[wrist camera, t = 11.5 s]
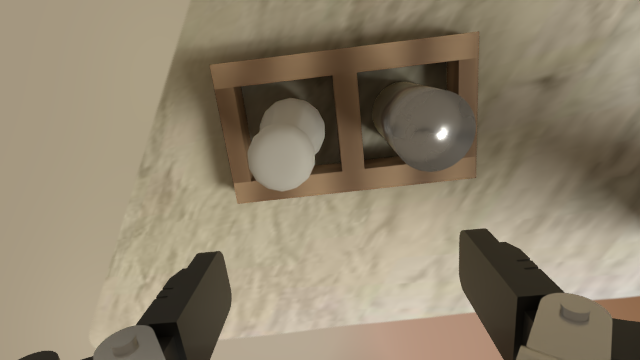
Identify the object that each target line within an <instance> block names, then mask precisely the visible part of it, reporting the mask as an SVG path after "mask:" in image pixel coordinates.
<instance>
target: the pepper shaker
mask: <svg viewBox="0 0 640 360" xmlns="http://www.w3.org/2000/svg"><path fill="white" fill-rule="evenodd" d="M372 118H373V123H374V125H375V127H376V129H377V131H378V132H379V133H380V134H381V135H382V137H383V138H384V139H385V140H386V141H387V142H388V144H389V145H390V146H391V147H392V148H393V150H394V151H395V152H396V153H397V154H398V155H399V157H400V158H401V159H402V160H403V161H404V162H405V163H406V164H407V165H409V166H410V167H412V168H414V169H417V170H420V171H426V172H435V171H440V170H444V169H447V168H449V167H451V166H453V165H454V164H456V163H457V162H459V161H460V160H461V159H462V158H463V157H464V156H465V155H466V153H467V152H468V151H469V149H470V147H471V145H472V143H473V140H474V137H475V132H476V121H475V116H474V113H473V111H472V109H471V107H470V105H469V104H468V103H467V102H466V101H465V100H464V99H463V98H462V97H461V96H459V95H457V94H456V93H453V92H451V91H447V90H442V89H438V88H433V87H429V86H424V85H420V84H416V83H411V82H397V83H394V84H391V85H389V86H387V87H386V88H385V89H383V90H382V91H381V92H380V93H379V95H378V96H377V98H376V100H375V102H374V105H373V109H372Z"/></svg>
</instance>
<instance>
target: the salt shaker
mask: <svg viewBox="0 0 640 360" xmlns="http://www.w3.org/2000/svg"><path fill="white" fill-rule="evenodd" d="M324 138H325V123H324V121H323V119H322V117H321V115H320V114H319V112H318V110H317V109H316V108H314V107H313V106H312V105H311V104H309V103H308V102H307V101H305V100H299V99H294V98H288V99H284V100H280V101H277V102H275V103H274V104H273V105H272V106H271V107H270V108H268V109H267V110H266V111H265V113H264V116H263V118H262V121H261V123H260V132H259V133H258V134H257V135H256V136H254V137H253V139H252V142H251V144H250V147H249V149H248V164H249V169H250V171H251V173H252V174H253V176H254V178H255V179H256V181H257V182H259V183H260V184H262V185H263V186H265V187H266V188H268V189H272V190H277V191H282V192H283V191H287V190H291V189H294V188H297V187H298V186H300V185H301V184H302V183H303V182H305V181H306V180H307V179H308V178H309V176H310V174H311V172H312V169H313V167H314V165H315V154H316V153H317V152H318V151H319V150H320V148H321V145H322V143H323V141H324Z"/></svg>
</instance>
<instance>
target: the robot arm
mask: <svg viewBox="0 0 640 360" xmlns="http://www.w3.org/2000/svg"><path fill="white" fill-rule="evenodd" d="M459 277H460V282H461V286H462V289H463V291H464V293H465V295H466V296H467V298H468V300H469V301H470V303H471V305H472V307H473V308H474V310H475V312H476V313H477V315H478V317H479V318H480V320H481V322H482V323H483V325H484V327H485V329H486V330H487V332H488V334H489V335H490V337H491V339H492V340H493V342H494V344H495V346H496V347H497V349H498V351H499V352H500V354H501V356H502V358H503V359H504V360H640V322H635V321H627V320H619V319H613V318H612V317H611V315H610V314H609V312H608V311H607V310H606V309H605V308H603V307H602V306H601V305H599V304H598V303H596V302H594V301H592V300H590V299H588V298H585V297H582V296H579V295H575V294H569V293H564V292H563V291H562V290H561V289H560V288H559V287H558V286H557V285H556V284H555V283H554V282H553V281H552V280H551V279H550V278H549V277H548V276H547V275H546V274H545V273H544V272H543V271H542V270H541V269H538V266H537V265H536V264H535V263H534V262H533V261H530V258H529V257H528V256H527V255H526V254H525V253H524V252H523V251H521V250H520V249H519V248H517V247H515V246H513V245H511V244H509V243H507V242H499V241H498V240H497V239H496V238H495V237H494V236H493V235H492V234H491V233H490V232H489V231H488V230H487V229H485V228H484V229H473V230H462V231H461V233H460V241H459ZM230 307H231V288H230V284H229V279H228V275H227V270H226V265H225V261H224V257H223V254H222V253H221V252H220V251H216V252H205V253H198V254H197V255H196V256H195V257H194V259H193V260H192V262H191V263H190V265H189V266H188V268H186V269H182V270H180V271H179V272H178V273H176V274H175V275H174V276H172V277H171V278H170V279H169V280H168V282H167V283H166V285H165V286H164V287H163V290H161V291H160V293H159V294H158V295H157V297H156V299H155V300H154V301H153V302H152V304H151V305H150V306H149V308H148V309H147V310H146V312H145V313H144V315H143V316H142V317H141V319H140V320H139V321H138V323H137V324H136V325H135V326H131V327H127V328H125V329H122V330H120V331H118V332H116V333H114V334H112V335H111V336H109V337H108V338H106V339H105V340H104V341H103V342H102V343H101V344H100V345H99V346H98V347H97V349H96V350H95V352H94V355H93V356H92V357H89V358H86V359H82V360H210V358H211V355H212V353H213V350H214V348H215V345H216V343H217V340H218V338H219V335H220V333H221V330H222V328H223V325H224V323H225V320H226V318H227V315H228V313H229V310H230ZM19 360H60V359H59V356H58V354H57V353H56V352H53V351H41V352H37V353H33V354H30V355H28V356H25V357H23V358H21V359H19Z"/></svg>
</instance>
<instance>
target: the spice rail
mask: <svg viewBox="0 0 640 360" xmlns="http://www.w3.org/2000/svg"><path fill="white" fill-rule="evenodd" d="M439 62H447V91H451V92H453V93H456V94H457V95H459V96H461V97H462V98H463V99H464V100H465V101H466V102H467V103H468V104H469V105H470V107H471V109H472V111H473V113H474V116H475V121H476V132H475V137H474V140H473V143H472V145H471V147H470V149H469V151H468V152H467V153H466V155H465V156H464V157H463V158H462V159H461V160H460V161H459V162H457V163H456V164H454V165H453V166H451V167H449V168H447V169H444V170H440V171H435V172H426V171H420V170H417V169H414V168H412V167H410V166H409V165H407V164H406V163H405V162H404V161H403V160H402V159H401V158H400V157H399V156H395V157H386V158H377V159H368V160H364V155H363V143H362V131H361V118H360V106H359V93H358V81H357V72H364V71H372V70H381V69H389V68H397V67H406V66H414V65H422V64H430V63H439ZM478 62H479V32H471V33H463V34H455V35H447V36H438V37H430V38H422V39H414V40H406V41H398V42H390V43H382V44H374V45H365V46H357V47H349V48H341V49H333V50H325V51H317V52H309V53H301V54H293V55H284V56H276V57H268V58H260V59H252V60H244V61H236V62H228V63H220V64H212V65H210V70H211V75H212V80H213V85H214V90H215V95H216V100H217V104H218V109H219V114H220V119H221V124H222V129H223V134H224V139H225V144H226V149H227V154H228V159H229V164H230V169H231V173H232V178H233V183H234V188H235V193H236V198H237V203H238V204H240V203H249V202H258V201H267V200H277V199H286V198H295V197H304V196H313V195H322V194H331V193H341V192H350V191H359V190H368V189H377V188H386V187H396V186H405V185H414V184H423V183H432V182H441V181H451V180H460V179H469V178H476V154H477V108H478ZM331 75H332V82H333V92H334V102H335V112H336V122H337V131H338V141H339V151H340V161H341V163H332V164H323V165H314V167H313V169H312V172H311V174H310V176H309V178H308V179H307V180H306V181H305V182H303V183H302V184H301V185H300V186H298V187H297V188H294V189H291V190H287V191H283V192H282V191H277V190H272V189H268V188H266V187H265V186H263V185H262V184H260V183H259V182H257V181H256V179H255V178H254V176H253V174H252V173H251V171H250V169H249V164H248V149H249V147H250V144H251V139H250V134H249V128H248V123H247V117H246V112H245V106H244V101H243V95H242V89H241V86H248V85H257V84H265V83H273V82H281V81H290V80H298V79H306V78H315V77H323V76H331Z"/></svg>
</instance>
